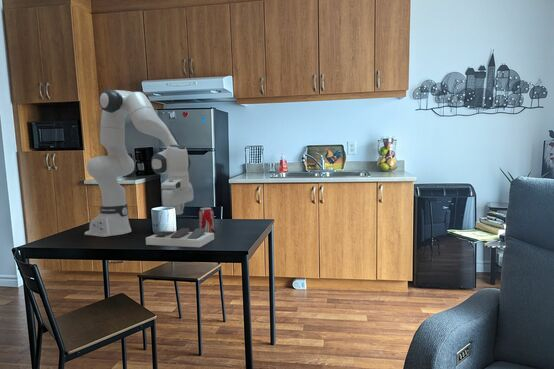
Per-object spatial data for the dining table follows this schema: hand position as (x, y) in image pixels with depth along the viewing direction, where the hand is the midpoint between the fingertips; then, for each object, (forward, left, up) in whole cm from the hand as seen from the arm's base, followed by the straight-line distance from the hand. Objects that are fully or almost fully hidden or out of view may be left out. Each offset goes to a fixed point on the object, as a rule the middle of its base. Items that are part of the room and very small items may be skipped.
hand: (179, 214), depth 164 cm
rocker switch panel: (-2, +3, -13) cm, 14 cm away
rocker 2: (+6, +3, -10) cm, 12 cm away
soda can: (+1, +23, -13) cm, 26 cm away
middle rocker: (-2, +3, -10) cm, 11 cm away
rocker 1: (-10, +3, -10) cm, 14 cm away
